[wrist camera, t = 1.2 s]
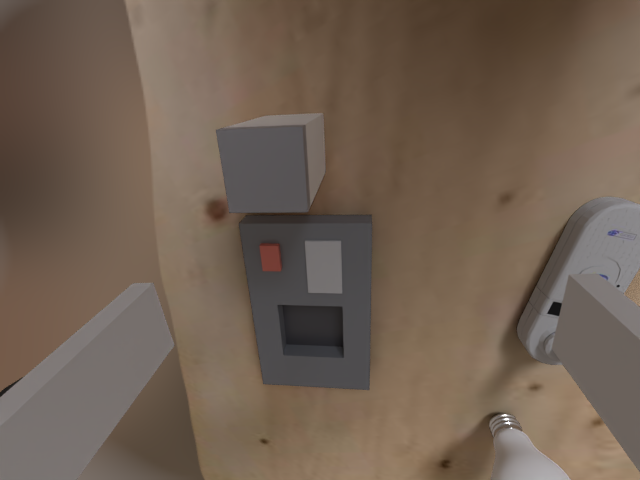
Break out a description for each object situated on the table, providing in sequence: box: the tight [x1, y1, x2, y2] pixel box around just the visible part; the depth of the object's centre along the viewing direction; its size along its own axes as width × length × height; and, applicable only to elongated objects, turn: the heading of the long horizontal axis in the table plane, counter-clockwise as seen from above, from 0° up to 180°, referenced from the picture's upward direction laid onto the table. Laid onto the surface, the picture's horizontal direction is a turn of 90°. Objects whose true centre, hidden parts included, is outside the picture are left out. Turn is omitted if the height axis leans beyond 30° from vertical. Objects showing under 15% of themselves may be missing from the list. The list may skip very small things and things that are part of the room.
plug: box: [216, 113, 326, 213], centre depth 23 cm, size 4×4×10 cm
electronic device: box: [517, 197, 640, 373], centre depth 25 cm, size 5×10×15 cm
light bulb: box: [489, 413, 570, 480], centre depth 31 cm, size 7×7×11 cm
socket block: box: [239, 215, 372, 390], centre depth 32 cm, size 18×11×2 cm, turn 3°
